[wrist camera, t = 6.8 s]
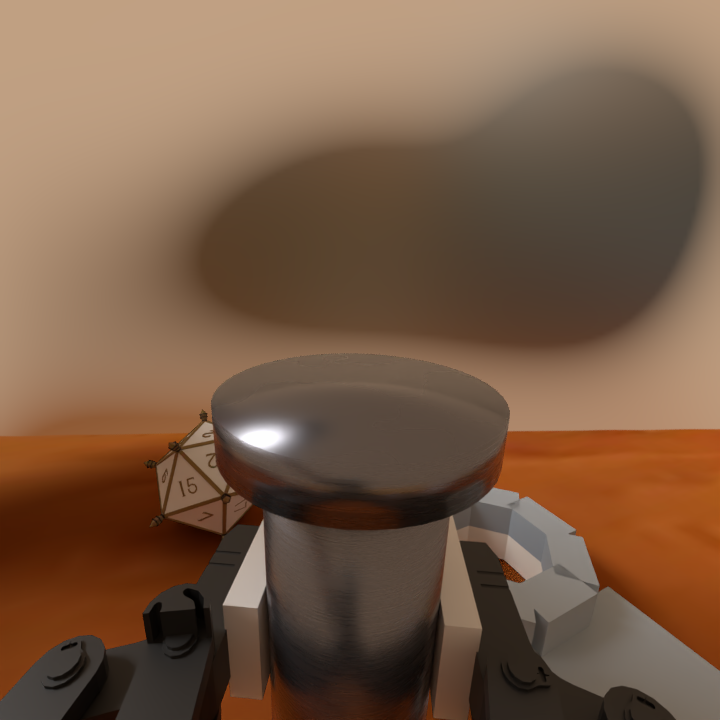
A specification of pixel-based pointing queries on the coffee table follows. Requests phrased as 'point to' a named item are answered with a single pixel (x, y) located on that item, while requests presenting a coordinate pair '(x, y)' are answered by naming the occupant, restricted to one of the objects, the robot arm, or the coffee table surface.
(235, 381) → the pin
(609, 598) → the hinge leaf
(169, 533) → the coffee table surface
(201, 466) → the game die
